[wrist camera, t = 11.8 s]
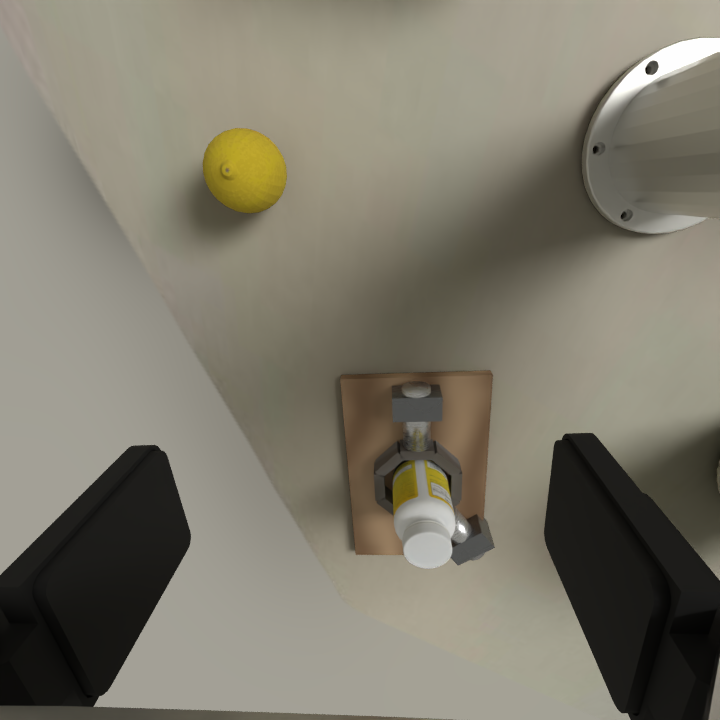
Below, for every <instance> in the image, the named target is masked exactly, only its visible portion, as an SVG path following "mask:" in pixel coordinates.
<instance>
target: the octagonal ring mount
mask: <svg viewBox="0 0 720 720" xmlns="http://www.w3.org/2000/svg"><path fill="white" fill-rule="evenodd" d="M492 379H493V375H492V373H491V371H459V372H425V373H392V374H358V375H341V378H340V382H341V393H342V405H343V416H344V428H345V439H346V450H347V462H348V473H349V484H350V496H351V507H352V519H353V530H354V541H355V553H356V555H404V553H403V544H402V540H401V539H400V538H399V537H398V535H397V534H396V531H395V527H394V514H393V480H392V477H393V470H394V468H395V467H396V466H397V465H398V464H400V463H401V462H402V461H403V460H433V461H434V462H435V463H436V464H437V465H439V466H440V467H441V468H442V469H444V470H445V473H446V477H447V481H448V486H449V491H450V496H451V501H452V506H453V508H454V507H456V508H457V509H458V510H459V512H460V513H461V514H462V515H463V516H464V517H465V518H466V519H468V518H470V517H472V516H474V515H476V514H477V515H478V516H479V517H480V518H481V519H482V521H483V519H484V504H485V488H486V473H487V457H488V441H489V426H490V410H491V395H492ZM412 381H421V382H425V383H428V384H429V385H435V384H439V385H440V389H441V393H442V397H443V409H442V421H435V422H431V446H430V448H429V449H427V450H425V451H422V452H413V451H410V450H407V449H406V448H405V447H404V445H403V422H393V413H392V386H399V385H404V384H405V383H407V382H412Z"/></svg>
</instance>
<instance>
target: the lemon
mask: <svg viewBox="0 0 720 720" xmlns="http://www.w3.org/2000/svg"><path fill="white" fill-rule="evenodd" d="M203 174H204V178H205V181H206V184H207V186H208V187H209V189H210V191H211V192H212V194H213V195H214V196H215V197H216V199H217V200H219V201H220V202H221V203H222V204H224V205H225V206H227V207H229V208H231V209H233V210H235V211H238V212H244V213H256V212H261V211H263V210H266V209H268V208H270V207H271V206H272V205H274V204H275V203H276V202H277V201H278V199H279V198H280V197H281V195H282V193H283V191H284V188H285V186H286V179H287V173H286V165H285V162H284V159H283V156H282V155H281V153H280V151H279V150H278V148H277V147H276V145H275V144H274V143H273V142H272V141H271V140H270V139H269V138H267V137H266V136H264V135H263V134H261V133H259V132H257V131H253V130H250V129H243V128H235V129H231V130H227V131H224V132H222V133H221V134H219V135H218V136H216V137H215V138H214V139H213V140H212V141H211V142H210V144H209V145H208V147H207V149H206V151H205V153H204V159H203Z"/></svg>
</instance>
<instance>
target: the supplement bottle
mask: <svg viewBox="0 0 720 720" xmlns="http://www.w3.org/2000/svg"><path fill="white" fill-rule="evenodd" d="M392 480H393V514H394V527H395V531H396V534H397V535H398V537H399V538H400V539H401V540H402V544H403V553H404V556H405V558H406V559H407V561H408V562H410V563H411V564H412V565H414V566H416V567H419V568H426V569H430V568H436V567H439V566H441V565H443V564H445V563H446V562H447V561H448V560H449V559H450V557H451V555H452V543H451V537H452V535H453V533H454V531H455V525H456V523H455V515H454V510H453V506H452V501H451V496H450V491H449V486H448V481H447V477H446V473H445V470H444V469H442V468H441V467H440V466H439V465H437V464H436V463H435V462H434V461H433V460H403V461H402V462H401V463H400V464H398V465H397V466H396V467H395V468H394V470H393V477H392Z"/></svg>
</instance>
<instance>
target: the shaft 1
mask: <svg viewBox="0 0 720 720" xmlns="http://www.w3.org/2000/svg"><path fill="white" fill-rule="evenodd" d="M442 409H443V397H442V393H441V389H440V385H439V384H435V385H429V384H428V383H425V382H421V381H412V382H407V383H405V384H404V385H399V386H392V413H393V422H403V445H404V447H405V448H406V449H407V450H410V451H413V452H422V451H425V450H427V449H429V448H430V446H431V422H435V421H442Z"/></svg>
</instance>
